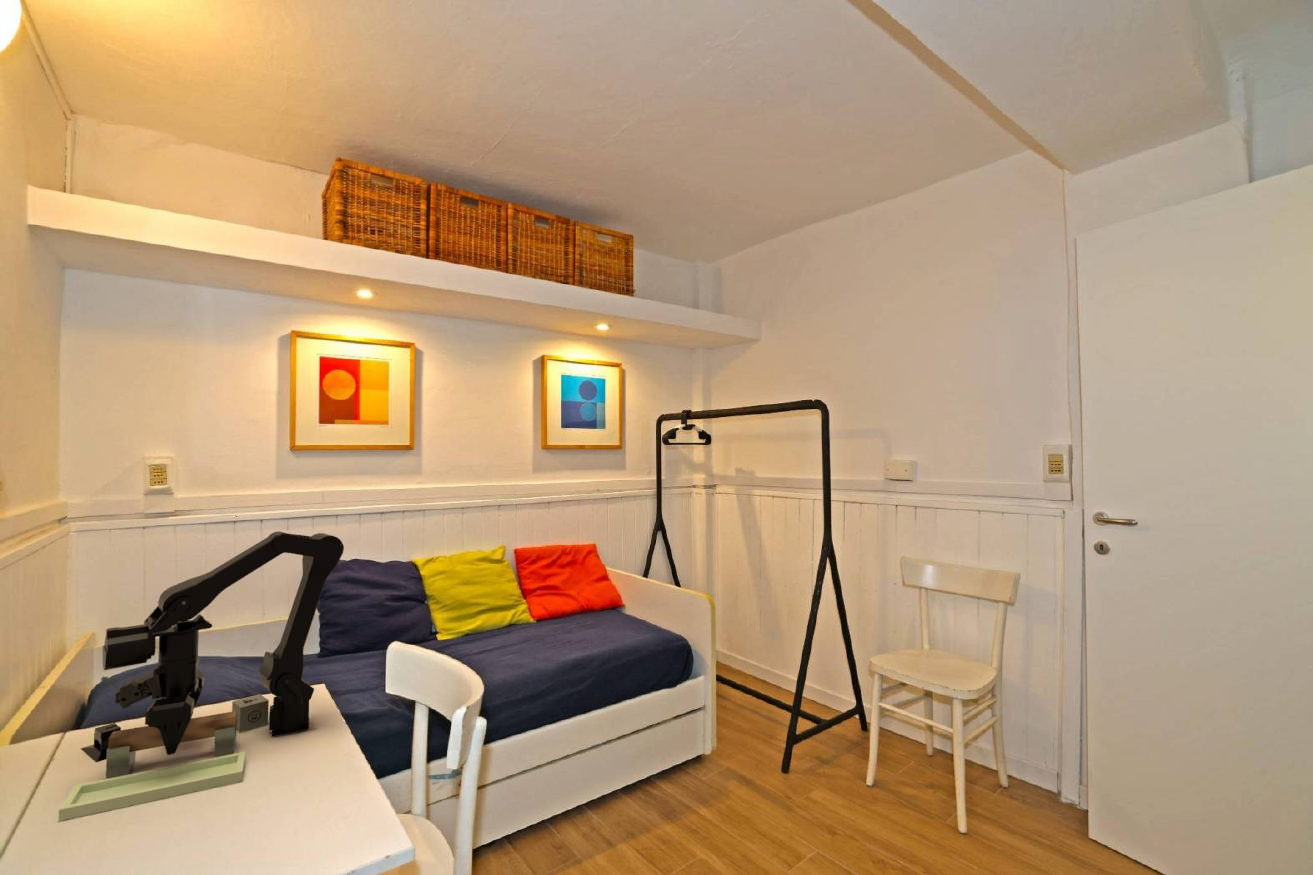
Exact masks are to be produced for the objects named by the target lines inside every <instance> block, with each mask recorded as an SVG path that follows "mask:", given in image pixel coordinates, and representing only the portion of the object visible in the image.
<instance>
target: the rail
mask: <svg viewBox="0 0 1313 875" xmlns="http://www.w3.org/2000/svg"><path fill="white" fill-rule="evenodd" d="M236 719H237V711H233V712H232V711H228V712H223V713H216V714H211V715H210V714H209V715H204V716H198V717H193V718H192V717H191V719H190V722H189V724H188V726H187V728H186V730H185V733H184V735H183V737H182V739H181V741H180V743H179V744H181V743H187V742H194V741H198V740H204V739H208V738H209V739H211V738H215V729H218V728H224V727H229V726H235V730H236ZM128 744H131V749H130V752H134V751H136V752H138V751H143V750H150V749H155V748H159V747H165V746H164V743H163V739H162V736H161V733H160V731H159V729H157V728H155V727H150V726H148V725H144V726H140V727H133V728H132V727H131V728H128V729H121V730H120V731H114V732H113V733H112V734H111V736H110V737H109V746H108V748H111V747H117V746H122V745H128Z"/></svg>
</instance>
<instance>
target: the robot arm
mask: <svg viewBox="0 0 1313 875" xmlns="http://www.w3.org/2000/svg"><path fill="white" fill-rule="evenodd" d="M344 549H345V546H344V544H343V541H342V540H341V539H340V538H339V537H338V536H335V535H331V534H327V533H324V532H323V533H322V532H318V533H315V534H313V535H311V536H309V535H304V534H293V533H287V532H283V531H281V530H280V531H274V532H272V533H270V534H269V535H268V536H267V537H266V538H264V539H263V540H261V541H259V542H257V543H255V544H254V545H252V546H250V547H249V548H247V549H245V550H244V551H242V552H241V553H239V554H237V555H235V556H234V557H232V558H230V559H229V560H227V561H226V562H224V563H222V564H220V565H219V566H218V567H215V568H214V569H212V570H211V571H208V572H206V573H204V574H201V575H198V576H195V577H194V576H193V577H192V578H189V579H186V580H184V581H182V582H178V583H176V584H174V585H173V586H170V587H168V588H166V589H165V590H164V591H163V592H162V593H161V594H160V595H159V598H158V602H157V603H158V605H157V606H156V607H155V608H154V609H153V611H152V612H151V613H150V614H149V615H148V617H147V618H145V620H143V623H142V624H139V625H138V624H137V625H131V626H124V627H122V626H121V627H119V626H118V627H110V628H106V629H105V637H104V645H102V669H103V671H108V670H109V671H110V670H114V669H118V668H119V669H120V668H124V667H125V668H127V667H131V666H136V665H141V664H146V663H147V661H148V660H151V659H152V657H153V656H155V654H156V647H157V646H156V645H157V643H156V642H157V640H156V637H157V638H158V658H157V665H156V668H154V669H153V671H152V672H149V673H146V674H143V675H141V676H139V677H136V678H134V679H131V680H129V681H127V682H125V683H122V684H121V685H119V686H118V687H117V688H116V690H115V691H114V696H115V700H114V703H115V704H119V707H120V709H123V710H124V709H126V708H129V707H131V705H133V704H135V703H138V702H140V701H143V700H145V699H147V698H149V697H151V699H152V700H155V701H154V702H153V703H151V704H150V705H149V706H148V709H147V710H146V712H145V714H144V715H145V716H144V726H150V727H155V728H157V729H159V731H160V733H161V736H162V739H163V743H164V746H163V747H164V749H165V753H166V755H167V756H170V755H174V754H176V752H177V751H178V750H177V749H178V748H179V746H180V744H181V743H180V741H181V739H182V737H183V735H184V733H185V730H186V728H187V726H188V724H189V722H190V719H191V718H192V717H193V714H194V709H195V707H196V705H197V703H198V701H199V698H200V696H201V694H202V691H203V689H204V688H203V687H204V685H205V674H204V673H203V672H201V670H198V668H199V663H200V655H199V638H200V637H199V635H200V634H199V631H200V630H207V629H211V628H213V624H212V623H211V622H210V621H209V620H207V619H205V618H204V616H203V615H202V614H201V612H202V611H204V610H205V609H206V608H207V607H208V606H209V605H210V604H212V602H213V601H215V599H216V598H218V596H219V595H220V594H221V593H222V592H223V591H224V590H226V589H228V588H229V587H231V586H232V585H234V584H235V583H237V582H239V581H240V580H242V579H244V578H245V577H246V576H248V575H250V574H252V573H253V572H255V571H256V570H258V569H259V568H261V567H263V566H265V565H266V564H267V563H270V562H271V561H272V560H274V559H275V558H277V557H278V556H280V555H282V554H291V555H292V554H293V555H298V556H302V575H301V576H302V577H301V580H300V582H299V584H298V588H297V591H296V594H295V597H294V601H293V603H292V606H291V609H290V612H289V615H288V619H287V621H286V623H285V624H286V625H285V627H284V630H283V633H282V636H281V639H280V641H279V644H278V645H277V647H276V648H275V649H274V650H273V652H271V651H265V653H264V654H263V661H262V663H261V664H262V665H261V666H260V668H259V669H258V670H257V672H258V673H259V674H260V683H261V684H262V685H263V687H264V688H265V689H267V691H269V692H270V693H271V694H272V695H273V696H274V697H273V699H272V700H273V701H272V705H270V706H269V711H268V731H269V732H271V733H270V734H271V737H272V738H273V737H277V736H278V737H279V736H283V735H284V736H285V735H289V734H293V733H300V732H305V731H308V730H310V700H311V699H312V697H313V694H314V692H315V688H314V687H313V686H312V685H310V684H309V683H308V682H306V681H305V680H304V679H303V675H304V674H303V673H304V667H305V664H304V663H305V662H304V658H305V657H304V650H305V648H304V647H305V644H306V641H307V640H308V635H309V633H310V629H311V626H312V623H313V621H314V618H315V614H316V611H317V608H318V605H319V602H320V599H321V596H322V593H323V589H324V587H325V583H326V581H327V579H328V578H329V576H330V575H331V574H332V572H334V570H335V569H336V568H337V566H338V563H339V562H340V560H341V558H342V556H343V555H344V554H343V553H344V551H345V550H344Z"/></svg>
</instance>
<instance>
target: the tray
mask: <svg viewBox="0 0 1313 875" xmlns="http://www.w3.org/2000/svg"><path fill="white" fill-rule="evenodd" d="M246 754H247V752H246V751H241V752H237V753H235V752H234V754H230V755H225V756H220V757H215V758H214V757H210V758H205V759H201V760H195V761H191V762H186V763H182V764H176V765H171V766H165V767H161V768H154V769H150V770H144V771H140V772H135V773H130V774H129V775H124V776H119V777H114V778H109V779H106V778H104V779H100V780H94V781H88V782H85V783H79V784H75V785H74V786H73V787H72V789H71V791H70V792H69V794H68V796H67V797H66V798H65V799H64V801H63V803H62V805H61V806H60V807H59V809H58V822H61V821H67V820H71V819H75V818H76V819H77V818H81V817H85V816H89V815H94V814H97V813H98V814H99V813H102V812H107V811H113V810H117V809H121V808H122V809H123V808H126V807H130V806H131V807H132V806H136V805H140V804H145V803H149V802H154V801H158V800H164V799H167V798H168V799H169V798H171V797H176V796H177V797H178V796H180V795H182V796H183V795H185V794H191V793H195V792H200V791H204V790H208V789H213V788H218V787H223V786H228V785H232V784H236V783H242V782H243V777H244V771H245V765H246V758H247V757H246Z"/></svg>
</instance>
